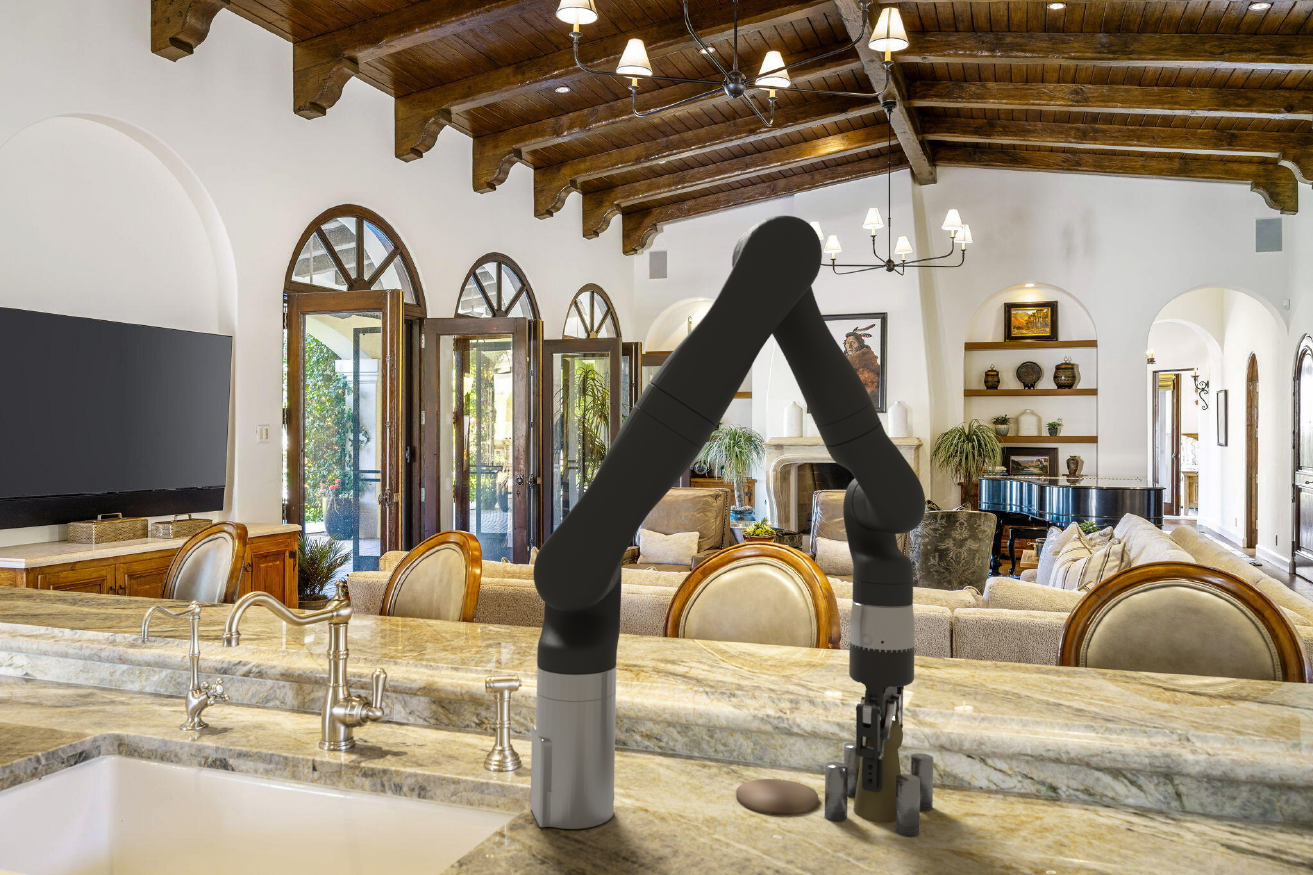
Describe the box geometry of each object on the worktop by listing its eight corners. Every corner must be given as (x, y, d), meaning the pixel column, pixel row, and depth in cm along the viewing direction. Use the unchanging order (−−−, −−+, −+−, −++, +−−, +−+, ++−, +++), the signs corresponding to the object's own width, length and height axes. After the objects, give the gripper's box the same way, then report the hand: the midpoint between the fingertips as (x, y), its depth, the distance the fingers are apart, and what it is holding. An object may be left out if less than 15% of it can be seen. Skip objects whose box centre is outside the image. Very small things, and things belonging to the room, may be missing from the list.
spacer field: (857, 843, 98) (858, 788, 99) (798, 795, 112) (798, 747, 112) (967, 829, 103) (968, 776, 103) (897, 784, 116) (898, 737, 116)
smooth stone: (756, 819, 105) (756, 813, 105) (723, 787, 114) (723, 783, 114) (833, 809, 108) (833, 804, 108) (795, 780, 117) (795, 775, 117)
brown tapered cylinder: (907, 824, 104) (908, 728, 104) (853, 819, 105) (855, 724, 105) (903, 804, 110) (905, 713, 110) (852, 800, 111) (854, 710, 111)
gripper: (900, 655, 100) (898, 807, 99) (925, 633, 112) (923, 767, 112) (834, 647, 103) (831, 794, 103) (865, 627, 116) (863, 757, 116)
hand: (879, 779), depth 107 cm, fingers open, 7 cm apart
